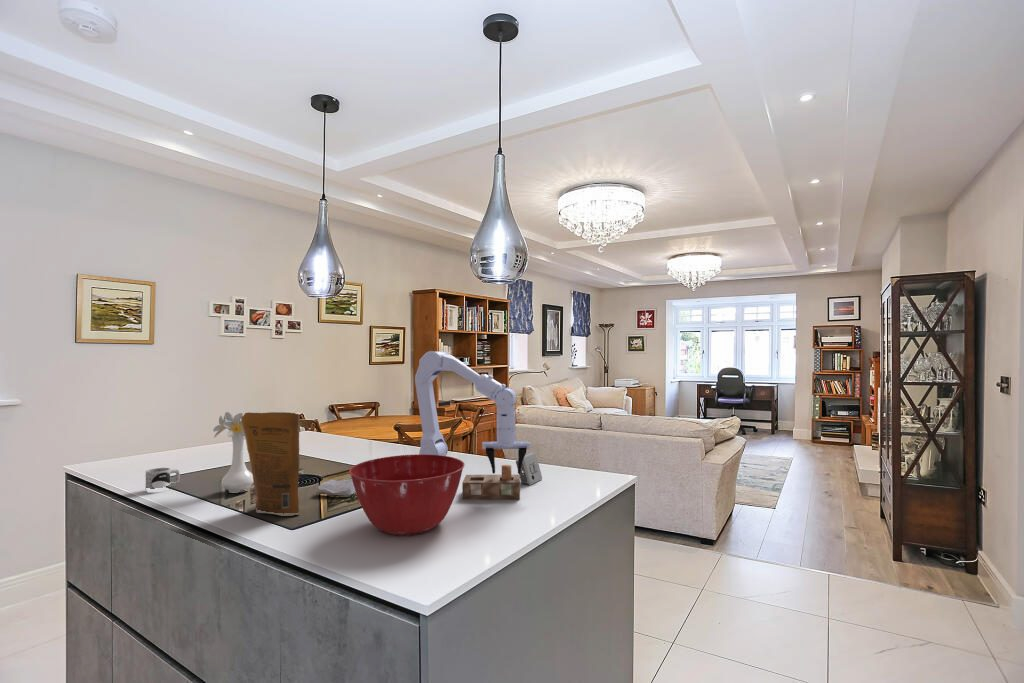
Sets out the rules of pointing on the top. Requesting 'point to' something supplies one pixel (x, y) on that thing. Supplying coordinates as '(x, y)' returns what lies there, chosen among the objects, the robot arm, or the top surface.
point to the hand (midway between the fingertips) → (506, 472)
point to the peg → (506, 473)
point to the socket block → (490, 487)
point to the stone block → (336, 487)
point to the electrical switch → (530, 469)
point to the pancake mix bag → (274, 459)
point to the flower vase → (235, 454)
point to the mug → (160, 477)
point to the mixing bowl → (407, 491)
